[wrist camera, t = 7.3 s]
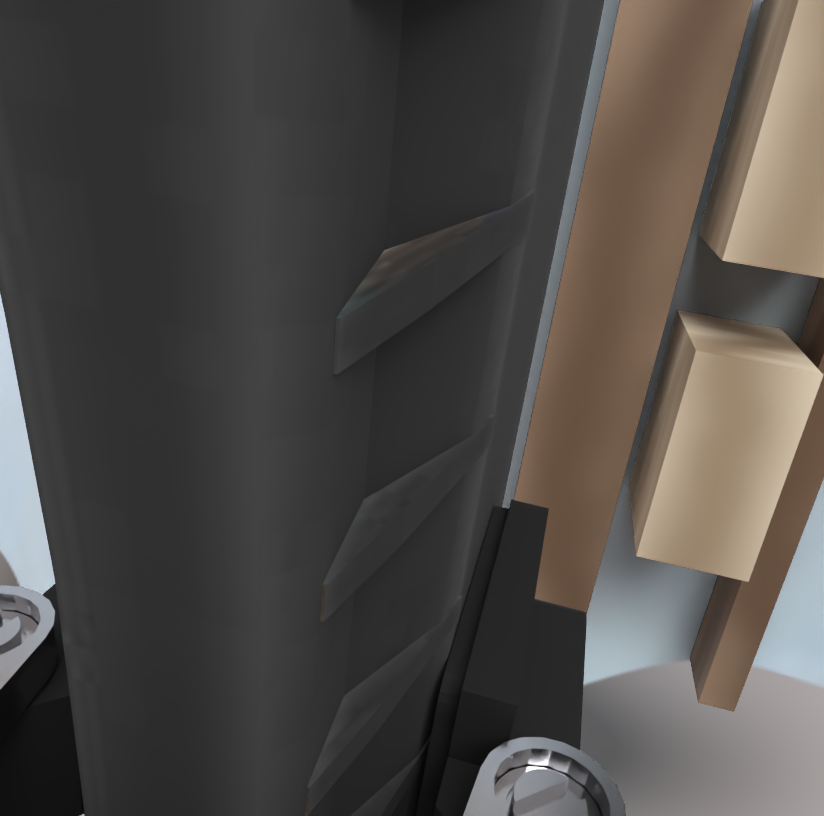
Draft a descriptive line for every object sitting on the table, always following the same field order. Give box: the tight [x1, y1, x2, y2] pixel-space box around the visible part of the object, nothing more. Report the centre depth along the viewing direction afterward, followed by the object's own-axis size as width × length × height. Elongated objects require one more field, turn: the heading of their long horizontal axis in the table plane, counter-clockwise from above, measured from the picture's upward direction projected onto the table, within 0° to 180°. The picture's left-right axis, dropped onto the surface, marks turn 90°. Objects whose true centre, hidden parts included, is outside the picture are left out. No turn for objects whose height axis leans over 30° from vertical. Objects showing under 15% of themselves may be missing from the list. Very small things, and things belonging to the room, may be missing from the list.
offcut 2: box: [629, 310, 823, 582], centre depth 29 cm, size 4×8×6 cm, turn 172°
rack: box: [514, 0, 824, 711], centre depth 29 cm, size 18×32×3 cm, turn 172°
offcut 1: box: [698, 0, 824, 278], centre depth 25 cm, size 4×8×6 cm, turn 172°
